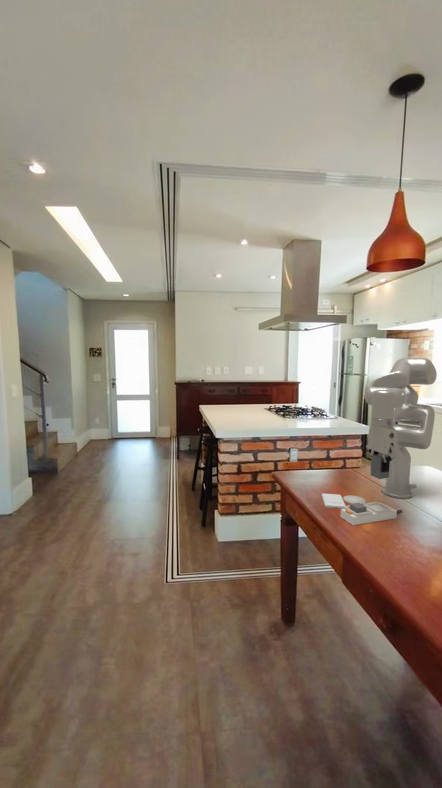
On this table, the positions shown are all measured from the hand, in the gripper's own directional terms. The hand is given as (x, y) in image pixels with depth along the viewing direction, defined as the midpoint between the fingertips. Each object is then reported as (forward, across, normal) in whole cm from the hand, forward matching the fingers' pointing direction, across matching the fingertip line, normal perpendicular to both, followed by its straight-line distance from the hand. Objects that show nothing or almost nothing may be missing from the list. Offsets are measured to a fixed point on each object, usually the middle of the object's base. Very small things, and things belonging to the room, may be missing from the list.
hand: (380, 469), depth 129 cm
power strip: (+18, -1, +2) cm, 18 cm away
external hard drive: (+19, +16, +9) cm, 26 cm away
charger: (+3, 0, 0) cm, 3 cm away
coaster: (+19, +14, -1) cm, 24 cm away
